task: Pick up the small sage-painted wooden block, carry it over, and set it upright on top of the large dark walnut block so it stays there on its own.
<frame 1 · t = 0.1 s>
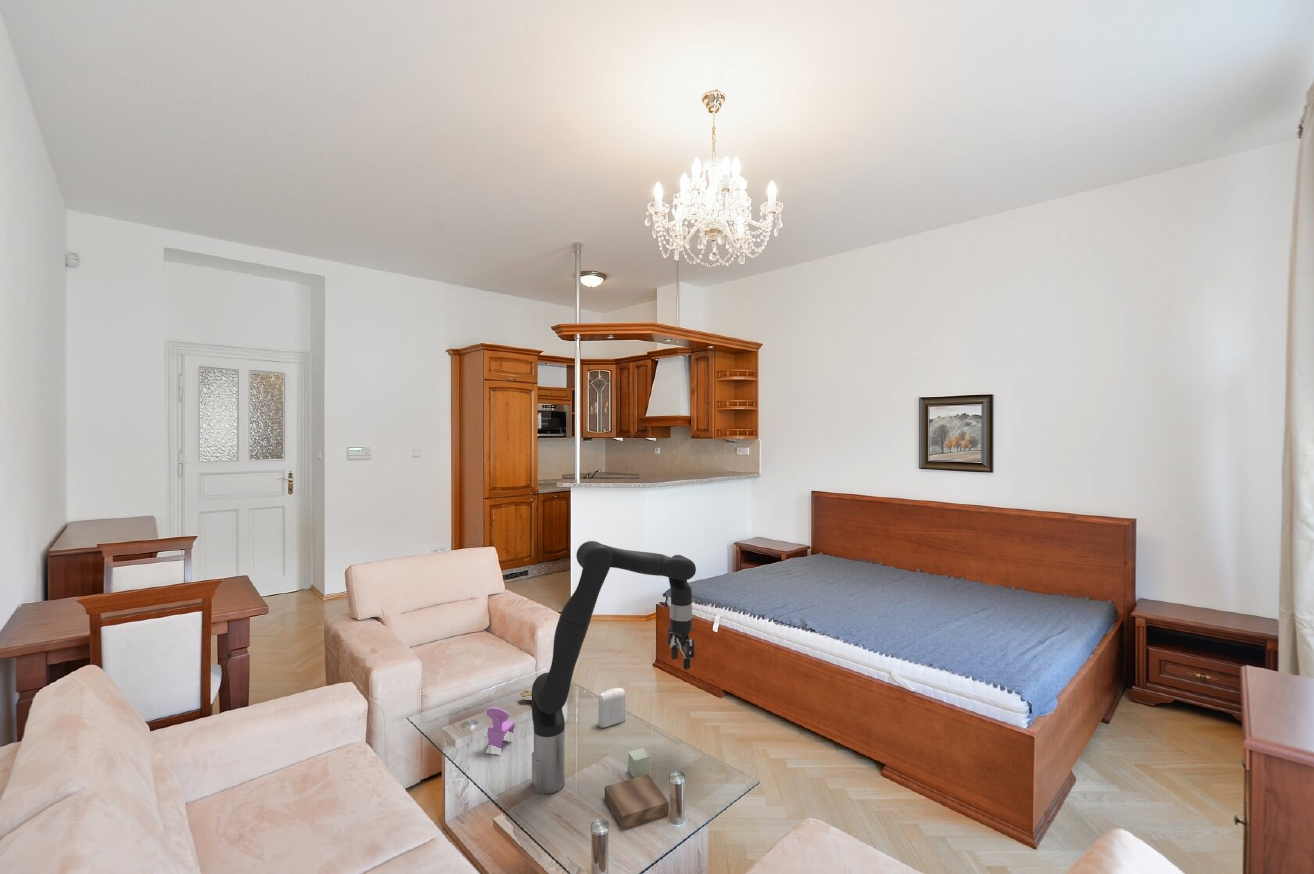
hand: (680, 663, 197), 29 cm above the table, fingers open, 8 cm apart
walnut block: (635, 807, 169), on the table
oil lamp: (540, 703, 228), on the table
toy chair: (500, 747, 198), on the table
sage block: (638, 772, 185), on the table
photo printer: (611, 723, 214), on the table
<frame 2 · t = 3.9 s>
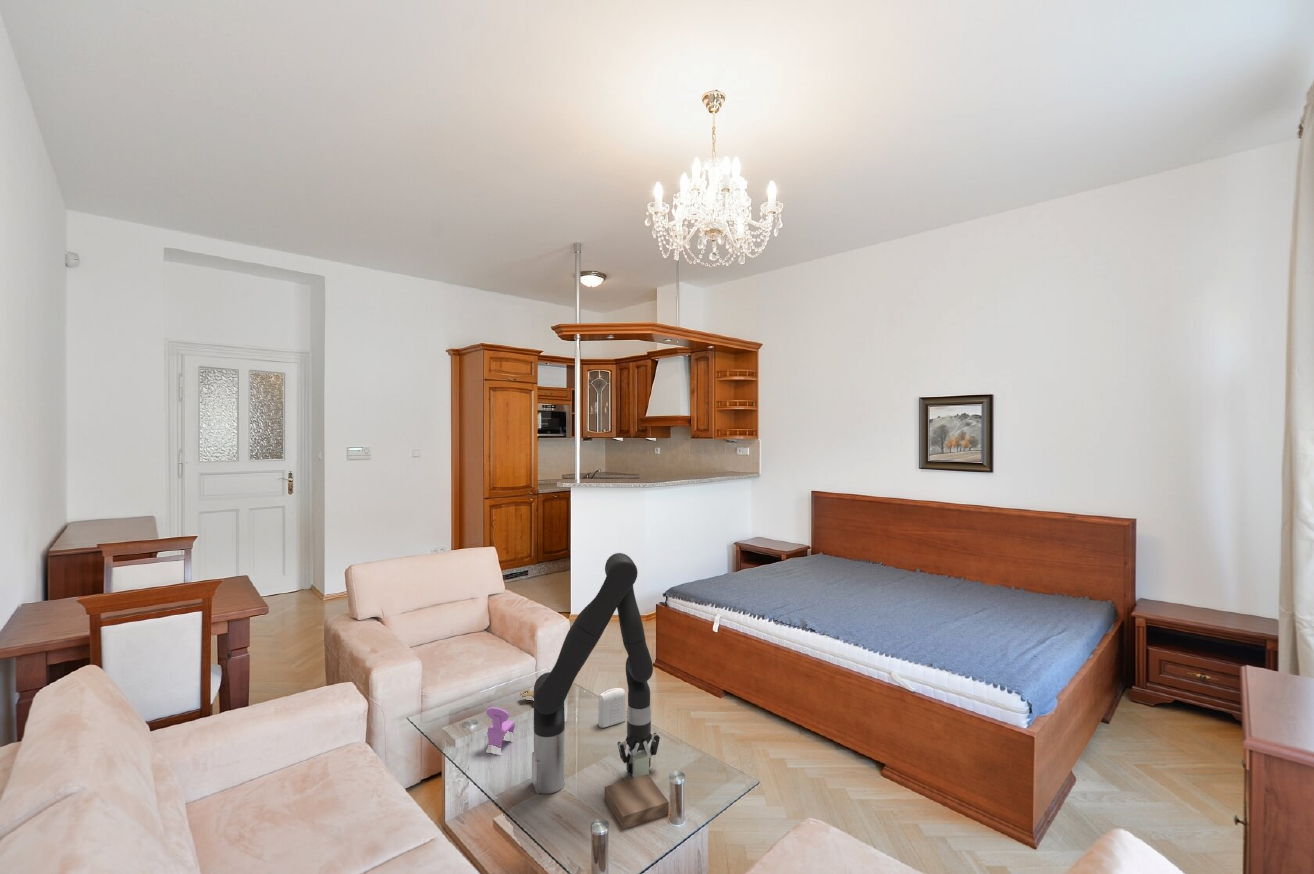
hand: (638, 770, 185), 1 cm above the table, fingers closed on sage block, 5 cm apart
sage block: (638, 772, 185), on the table, touching gripper
everything else where it was.
when the fingers open (6 cm above the table, at t = 10.3 s): sage block drops 2 cm, resting on walnut block.
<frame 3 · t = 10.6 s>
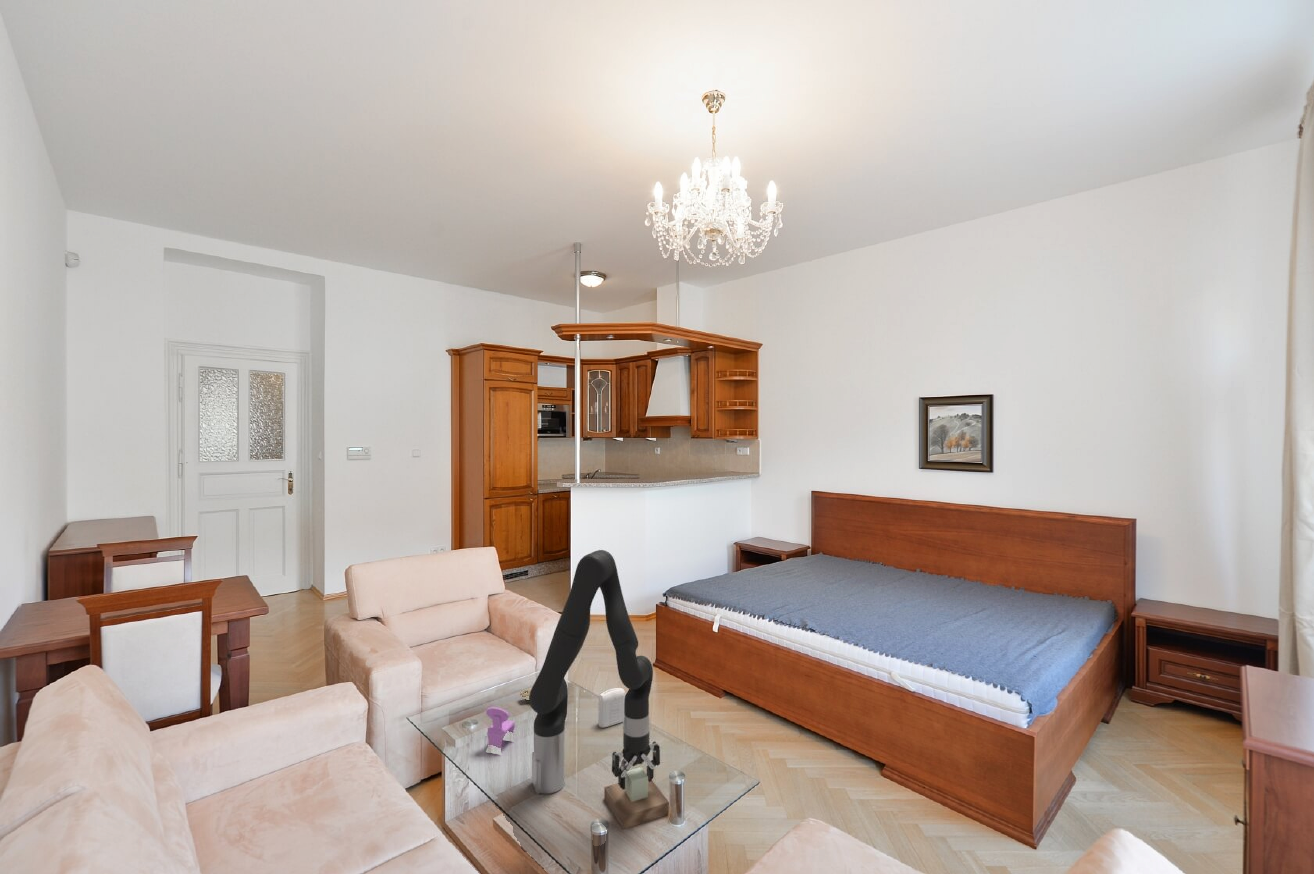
hand: (636, 783, 169), 7 cm above the table, fingers open, 8 cm apart
walnut block: (635, 807, 169), on the table, touching sage block
sage block: (636, 794, 169), point 3 cm above the table, touching walnut block
everything else where it was.
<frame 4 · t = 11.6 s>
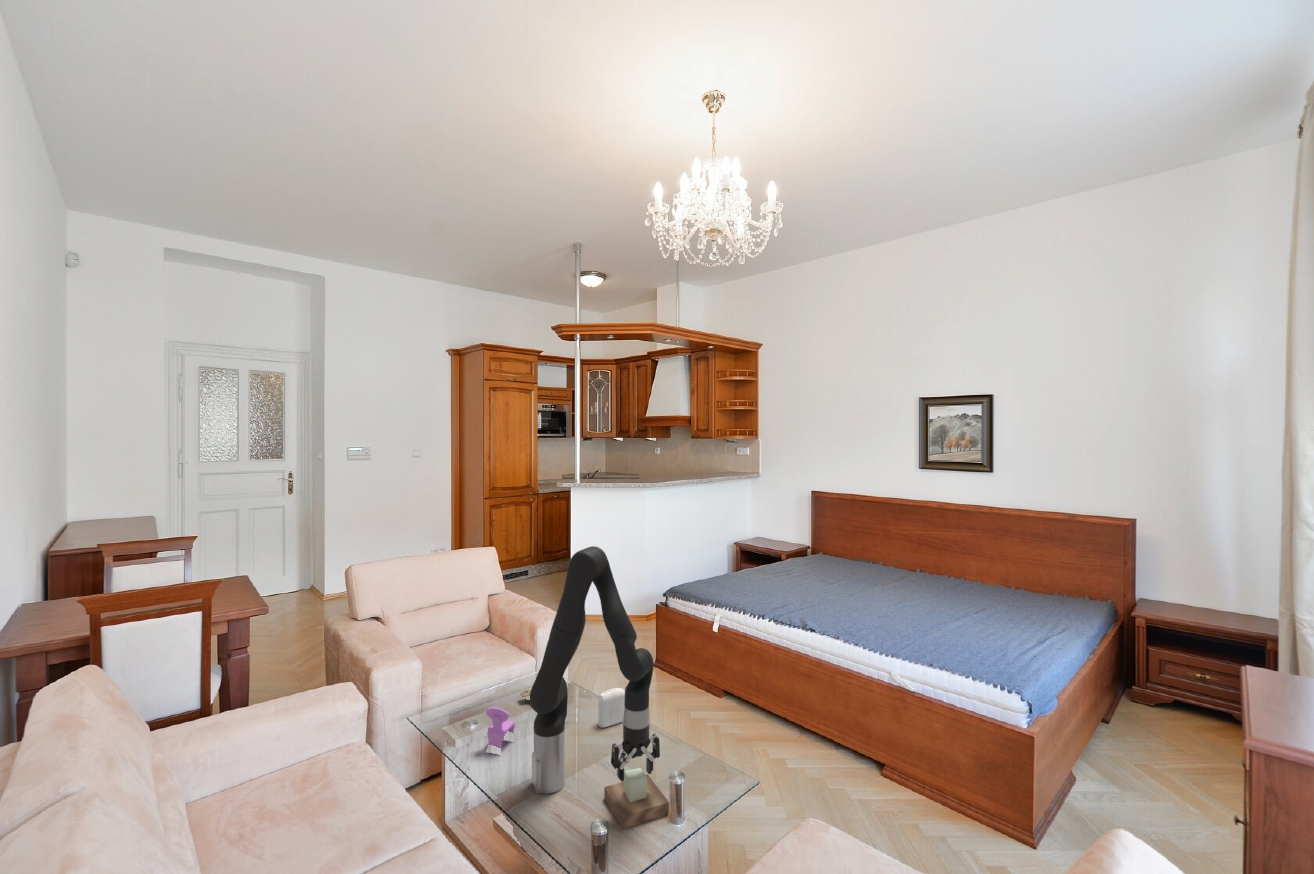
hand: (635, 775, 169), 9 cm above the table, fingers open, 8 cm apart
nothing on the table moved.
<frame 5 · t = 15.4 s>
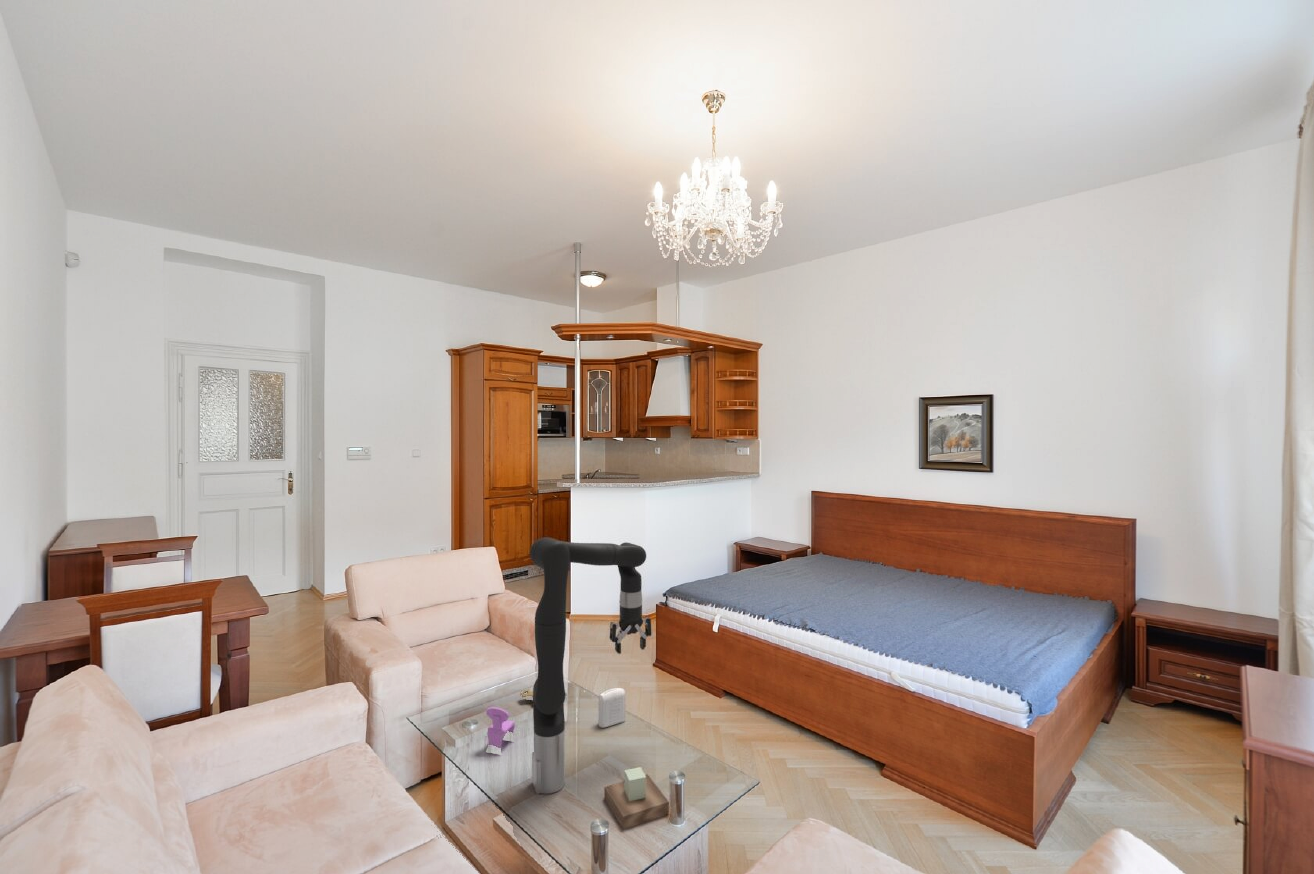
hand: (630, 650, 197), 33 cm above the table, fingers open, 8 cm apart
walnut block: (636, 807, 169), on the table
sage block: (635, 793, 169), point 3 cm above the table
everything else where it was.
at the end: sage block inside the target area on the walnut block (0.4 cm from its centre), point 4.0 cm above the walnut block's base; sage block tilted 0°; the gripper is holding nothing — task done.
